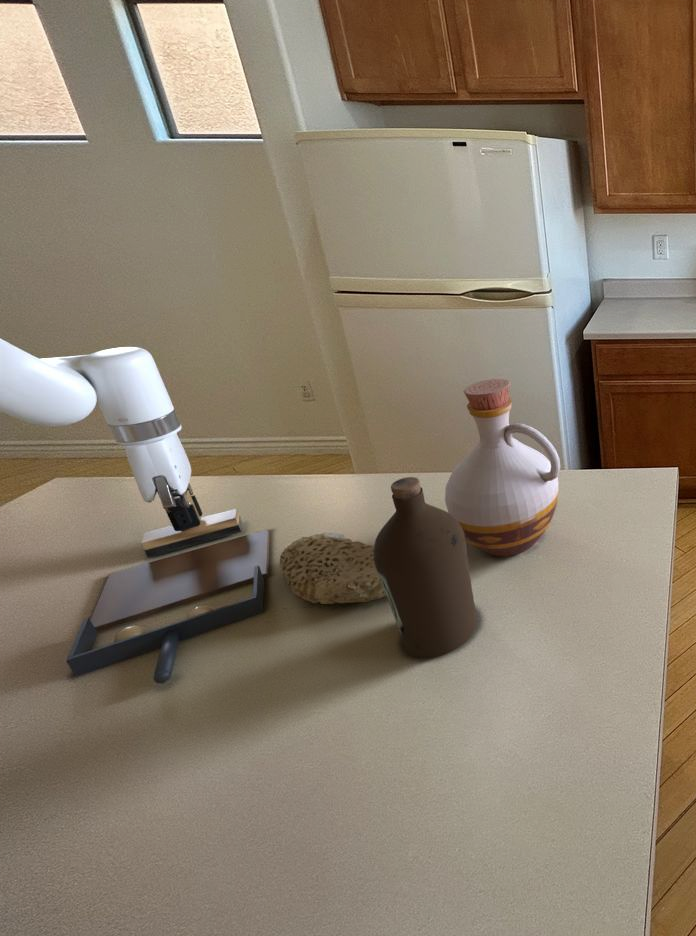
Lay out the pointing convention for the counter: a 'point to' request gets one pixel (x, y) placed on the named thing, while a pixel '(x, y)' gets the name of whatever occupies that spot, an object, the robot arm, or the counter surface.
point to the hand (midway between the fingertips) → (189, 522)
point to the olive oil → (425, 573)
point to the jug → (502, 478)
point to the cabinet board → (180, 579)
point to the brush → (191, 532)
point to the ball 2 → (198, 611)
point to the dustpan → (160, 636)
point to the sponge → (331, 569)
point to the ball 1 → (129, 633)
